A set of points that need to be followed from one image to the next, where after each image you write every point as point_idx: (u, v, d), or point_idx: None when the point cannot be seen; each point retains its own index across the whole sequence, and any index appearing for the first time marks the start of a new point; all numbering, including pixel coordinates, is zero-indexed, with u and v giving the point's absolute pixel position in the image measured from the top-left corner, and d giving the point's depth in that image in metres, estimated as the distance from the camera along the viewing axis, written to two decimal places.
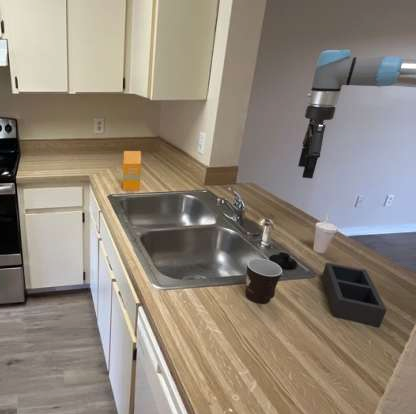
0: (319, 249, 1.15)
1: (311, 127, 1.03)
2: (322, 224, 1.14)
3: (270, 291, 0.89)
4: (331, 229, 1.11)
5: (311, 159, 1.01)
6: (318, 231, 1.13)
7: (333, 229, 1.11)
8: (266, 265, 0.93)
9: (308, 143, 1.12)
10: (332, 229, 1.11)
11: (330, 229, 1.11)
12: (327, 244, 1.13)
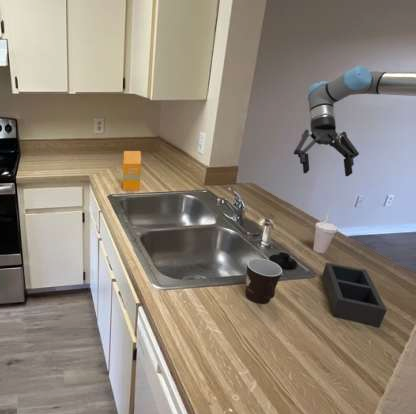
0: (319, 249, 1.15)
1: None
2: (322, 224, 1.14)
3: (270, 291, 0.89)
4: (331, 229, 1.11)
5: (300, 156, 1.19)
6: (318, 231, 1.13)
7: (333, 229, 1.11)
8: (266, 265, 0.93)
9: (343, 153, 1.17)
10: (332, 229, 1.11)
11: (330, 229, 1.11)
12: (327, 244, 1.13)
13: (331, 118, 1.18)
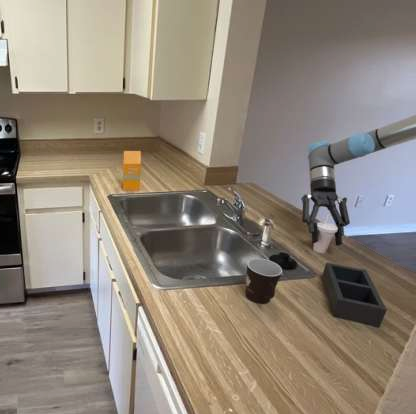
0: (319, 249, 1.15)
1: None
2: (322, 224, 1.14)
3: (270, 291, 0.89)
4: (331, 229, 1.11)
5: (308, 224, 1.15)
6: (318, 231, 1.13)
7: (333, 229, 1.11)
8: (266, 265, 0.93)
9: (335, 219, 1.14)
10: (332, 229, 1.11)
11: (330, 229, 1.11)
12: (327, 244, 1.13)
13: (331, 180, 1.16)
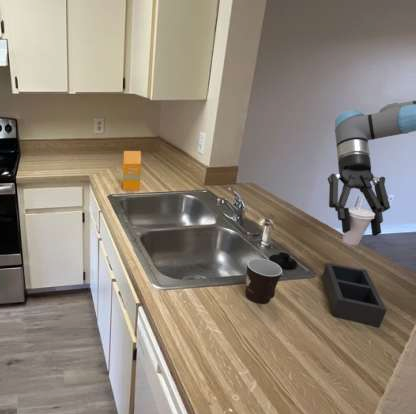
0: (351, 240, 0.93)
1: None
2: (355, 209, 0.92)
3: (270, 291, 0.89)
4: (367, 215, 0.89)
5: (338, 210, 0.94)
6: (350, 218, 0.92)
7: (369, 215, 0.89)
8: (266, 265, 0.93)
9: (371, 204, 0.92)
10: (368, 215, 0.89)
11: (366, 215, 0.89)
12: (361, 234, 0.92)
13: (365, 156, 0.94)
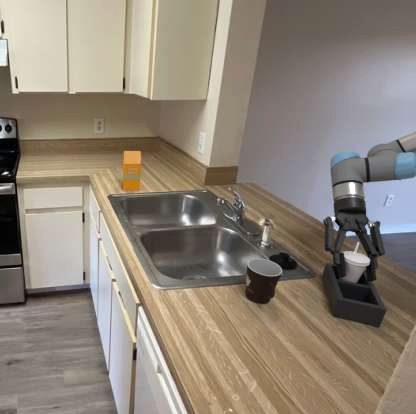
0: None
1: None
2: (350, 254, 0.92)
3: (270, 291, 0.89)
4: (362, 261, 0.89)
5: (333, 254, 0.94)
6: (345, 263, 0.91)
7: (365, 261, 0.89)
8: (266, 265, 0.93)
9: (366, 248, 0.92)
10: (363, 261, 0.89)
11: (361, 261, 0.89)
12: (356, 279, 0.92)
13: (360, 200, 0.94)
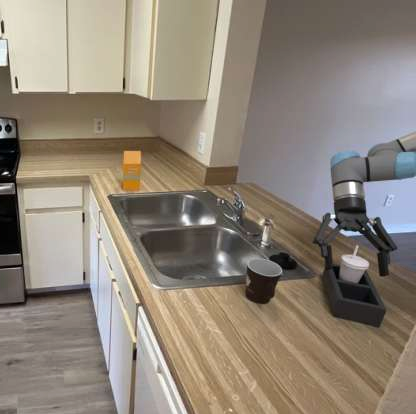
0: None
1: None
2: (349, 258, 0.92)
3: (270, 291, 0.89)
4: (361, 265, 0.90)
5: (321, 247, 0.95)
6: (344, 266, 0.92)
7: (364, 265, 0.90)
8: (266, 265, 0.93)
9: (377, 245, 0.92)
10: (362, 265, 0.90)
11: (360, 265, 0.89)
12: (355, 282, 0.92)
13: (361, 199, 0.94)
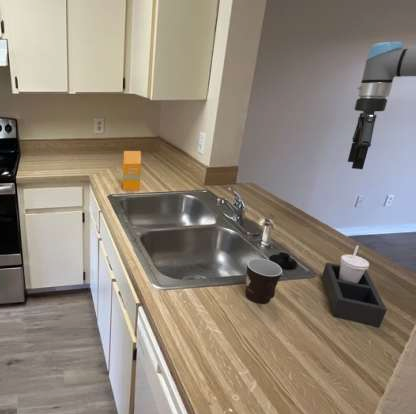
0: None
1: (361, 119, 1.04)
2: (349, 258, 0.92)
3: (270, 291, 0.89)
4: (361, 265, 0.89)
5: (361, 149, 1.01)
6: (344, 266, 0.92)
7: (364, 265, 0.90)
8: (266, 265, 0.93)
9: (358, 138, 1.12)
10: (362, 265, 0.90)
11: (360, 265, 0.89)
12: (355, 282, 0.92)
13: None
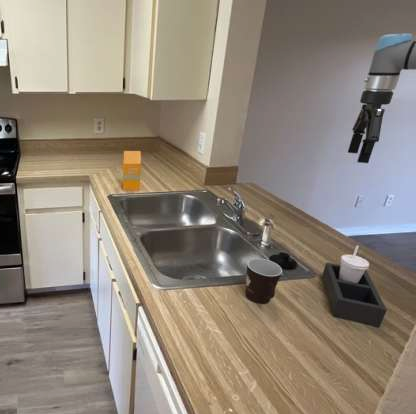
0: None
1: (367, 112, 1.04)
2: (349, 258, 0.92)
3: (270, 291, 0.89)
4: (361, 265, 0.89)
5: (368, 143, 1.01)
6: (344, 266, 0.92)
7: (364, 265, 0.90)
8: (266, 265, 0.93)
9: (360, 129, 1.12)
10: (362, 265, 0.90)
11: (360, 265, 0.89)
12: (355, 282, 0.92)
13: None
